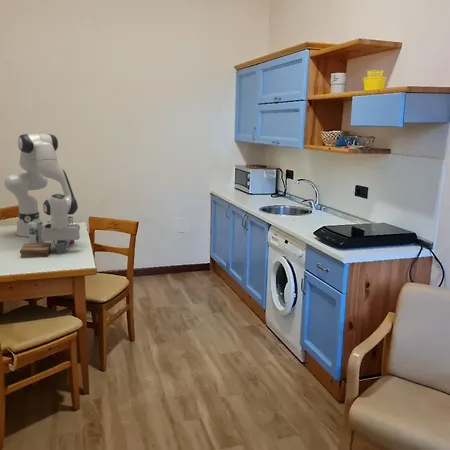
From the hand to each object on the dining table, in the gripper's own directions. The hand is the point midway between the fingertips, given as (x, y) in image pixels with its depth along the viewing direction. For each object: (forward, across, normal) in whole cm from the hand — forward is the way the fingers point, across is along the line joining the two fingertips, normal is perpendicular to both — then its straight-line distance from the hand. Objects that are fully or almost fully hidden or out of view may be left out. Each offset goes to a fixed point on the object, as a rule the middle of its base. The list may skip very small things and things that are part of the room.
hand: (61, 247), depth 264 cm
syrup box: (+2, +15, -14) cm, 21 cm away
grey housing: (+2, 0, 0) cm, 2 cm away
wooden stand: (+2, +13, +2) cm, 13 cm away
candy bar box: (+2, -1, -15) cm, 15 cm away
